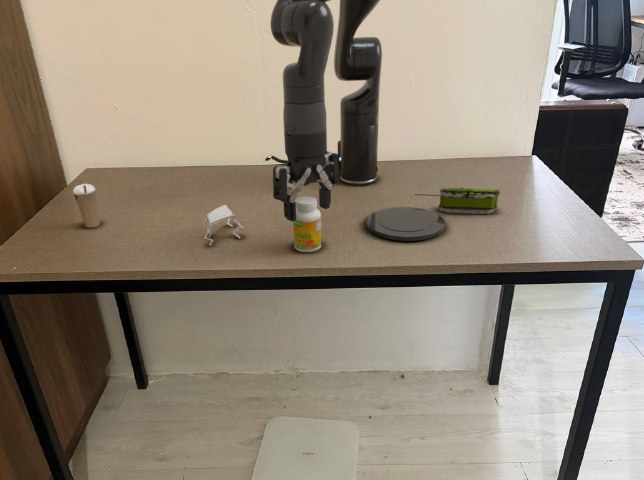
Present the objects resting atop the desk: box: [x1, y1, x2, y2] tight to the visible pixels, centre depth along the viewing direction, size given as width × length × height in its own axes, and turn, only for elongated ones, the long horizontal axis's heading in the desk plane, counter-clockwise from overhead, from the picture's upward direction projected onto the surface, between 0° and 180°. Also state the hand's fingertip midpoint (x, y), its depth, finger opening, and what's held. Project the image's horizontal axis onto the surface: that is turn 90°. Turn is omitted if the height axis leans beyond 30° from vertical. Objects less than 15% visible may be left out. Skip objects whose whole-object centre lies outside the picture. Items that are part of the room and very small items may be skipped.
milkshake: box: [72, 183, 101, 229], centre depth 123 cm, size 5×5×10 cm
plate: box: [366, 206, 446, 242], centre depth 118 cm, size 16×16×1 cm
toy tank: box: [415, 187, 501, 215], centre depth 125 cm, size 7×19×10 cm
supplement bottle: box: [292, 195, 322, 253], centre depth 109 cm, size 5×5×10 cm
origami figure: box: [202, 204, 245, 246], centre depth 117 cm, size 12×8×5 cm
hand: (308, 213), depth 108 cm, fingers open, 8 cm apart
